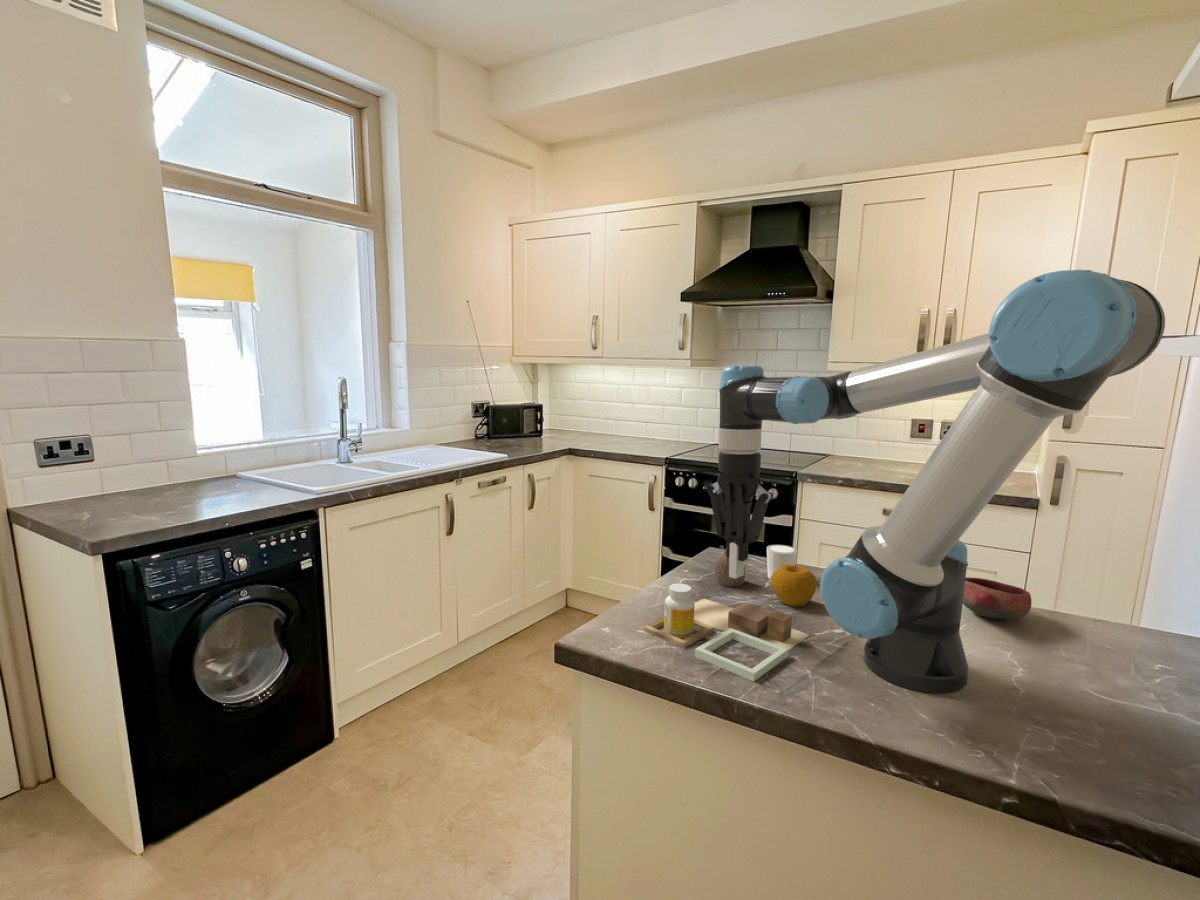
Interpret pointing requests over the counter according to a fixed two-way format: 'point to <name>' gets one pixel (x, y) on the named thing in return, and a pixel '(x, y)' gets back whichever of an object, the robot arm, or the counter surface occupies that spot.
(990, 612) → the bowl
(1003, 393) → the robot arm
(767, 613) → the walnut block
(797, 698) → the counter surface
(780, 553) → the white cylinder
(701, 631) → the oak collar
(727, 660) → the tray
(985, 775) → the counter surface
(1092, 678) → the counter surface
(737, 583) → the vase
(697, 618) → the board
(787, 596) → the apple
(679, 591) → the supplement bottle
